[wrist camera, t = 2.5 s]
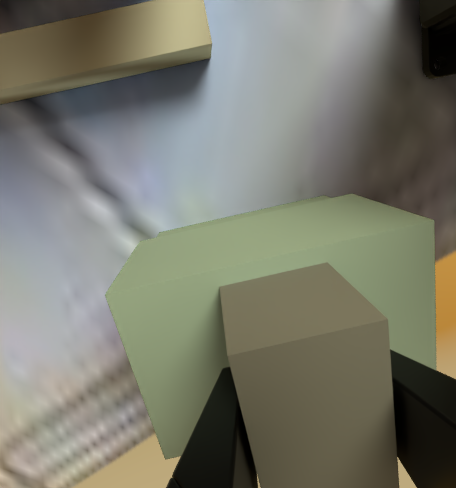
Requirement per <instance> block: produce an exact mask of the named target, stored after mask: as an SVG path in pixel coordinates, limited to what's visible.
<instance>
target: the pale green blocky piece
mask: <svg viewBox="0 0 456 488" xmlns="http://www.w3.org/2000/svg"><path fill="white" fill-rule="evenodd" d="M105 296H106V299H107V302H108V305H109V307H110V310H111V313H112V316H113V318H114V321H115V324H116V326H117V329H118V332H119V335H120V337H121V340H122V343H123V346H124V348H125V351H126V354H127V356H128V359H129V362H130V365H131V367H132V370H133V373H134V376H135V378H136V381H137V384H138V387H139V389H140V392H141V395H142V397H143V400H144V403H145V406H146V408H147V411H148V414H149V417H150V419H151V422H152V425H153V427H154V430H155V433H156V436H157V438H158V441H159V444H160V447H161V449H162V452H163V454H164V458H165V459H170V458H174V457H179V456H181V455H182V453H183V451H184V449H185V447H186V445H187V443H188V440H189V438H190V436H191V434H192V432H193V430H194V428H195V426H196V423H197V421H198V419H199V417H200V415H201V413H202V411H203V408H204V406H205V404H206V402H207V400H208V398H209V396H210V394H211V391H212V389H213V387H214V385H215V383H216V381H217V379H218V377H219V374H220V372H221V370H222V369H223V368H225V367H229V366H230V368H231V372H232V376H233V380H234V384H235V388H236V392H237V396H238V399H239V403H240V407H241V411H242V415H243V419H244V423H245V427H246V431H247V435H248V439H249V443H250V447H251V451H252V455H253V459H254V463H255V467H256V471H257V474H258V478H259V483H260V487H261V488H399V478H398V462H397V447H396V432H395V417H394V402H393V387H392V372H391V357H390V349H391V350H393V351H395V352H398V353H400V354H402V355H404V356H406V357H408V358H411V359H413V360H415V361H417V362H419V363H421V364H424V365H426V366H428V367H430V368H432V369H434V370H436V310H435V309H436V305H435V233H434V220H432V219H429V218H426V217H423V216H420V215H417V214H414V213H410V212H407V211H404V210H401V209H398V208H395V207H392V206H389V205H386V204H383V203H380V202H377V201H373V200H370V199H367V198H364V197H361V196H358V195H355V194H347V195H343V196H338V197H334V198H330V197H327V196H325V195H323V196H319V197H314V198H310V199H305V200H301V201H296V202H292V203H288V204H283V205H279V206H274V207H270V208H265V209H261V210H257V211H252V212H248V213H243V214H239V215H234V216H230V217H225V218H221V219H217V220H212V221H208V222H203V223H199V224H194V225H190V226H185V227H181V228H177V229H172V230H168V231H163V232H159V234H158V236H157V237H156V238H152V239H147V240H143V241H140V242H139V244H138V245H137V247H136V248H135V250H134V251H133V253H132V254H131V256H130V257H129V259H128V260H127V262H126V263H125V265H124V266H123V268H122V270H121V271H120V273H119V274H118V276H117V277H116V279H115V280H114V282H113V283H112V285H111V286H110V288H109V289H108V291H107V292H106V294H105Z"/></svg>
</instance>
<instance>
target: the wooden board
mask: <svg viewBox="0 0 456 488" xmlns="http://www.w3.org/2000/svg"><path fill="white" fill-rule="evenodd" d="M211 48H212V41H211V36H210V31H209V26H208V21H207V16H206V11H205V6H204V1H203V0H153V1H148V2H143V3H139V4H134V5H130V6H125V7H121V8H116V9H111V10H107V11H102V12H98V13H93V14H89V15H84V16H79V17H75V18H70V19H66V20H61V21H57V22H52V23H47V24H43V25H38V26H34V27H29V28H25V29H20V30H15V31H11V32H6V33H2V34H0V104H5V103H10V102H14V101H19V100H23V99H28V98H32V97H37V96H41V95H46V94H50V93H55V92H59V91H64V90H68V89H73V88H78V87H82V86H87V85H91V84H96V83H100V82H105V81H109V80H114V79H118V78H123V77H127V76H132V75H136V74H141V73H145V72H150V71H155V70H159V69H164V68H168V67H173V66H177V65H182V64H186V63H191V62H195V61H200V60H204V59H209V58H211Z"/></svg>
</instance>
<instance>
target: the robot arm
mask: <svg viewBox="0 0 456 488" xmlns="http://www.w3.org/2000/svg"><path fill="white" fill-rule="evenodd" d="M419 4H420V23H421V25H422V62H423V73H424V74H425V76H426V77H428V78H430V79H435V78H439V77H444V76H448V75H453V74H456V0H419ZM436 60H438V61H439V63H440V67H439V69H438V70H437V69H436V68H435V61H436ZM390 357H391V372H392V387H393V402H394V417H395V432H396V447H397V457H398V458H399V460H400V461H401V463H402V465H403V466H404V468H405V469H406V471H407V473H408V474H409V476H410V477H411V479H412V481H413V482H414V484H415V485H416V487H417V488H456V379H454V378H452V377H450V376H447V375H445V374H443V373H441V372H439V371H437V370H434V369H432V368H430V367H428V366H426V365H424V364H421V363H419V362H417V361H415V360H413V359H411V358H408V357H406V356H404V355H402V354H400V353H398V352H395V351H393V350H391V349H390ZM172 477H173V478H171V479H170V480H169V483H168V485H167V487H166V488H258V483H257V471H256V467H255V463H254V459H253V455H252V451H251V447H250V443H249V439H248V435H247V431H246V427H245V423H244V419H243V415H242V411H241V407H240V403H239V399H238V396H237V392H236V388H235V384H234V380H233V376H232V372H231V368H230V366H229V367H225V368H223V369H222V370H221V372H220V374H219V377H218V379H217V381H216V383H215V385H214V387H213V389H212V391H211V394H210V396H209V398H208V400H207V402H206V404H205V406H204V408H203V411H202V413H201V415H200V417H199V419H198V421H197V423H196V426H195V428H194V430H193V432H192V434H191V436H190V438H189V440H188V443H187V445H186V447H185V449H184V451H183V453H182V455H181V458H180V460H179V462H178V464H177V466H176V468H175V470H174V472H173V475H172Z"/></svg>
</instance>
